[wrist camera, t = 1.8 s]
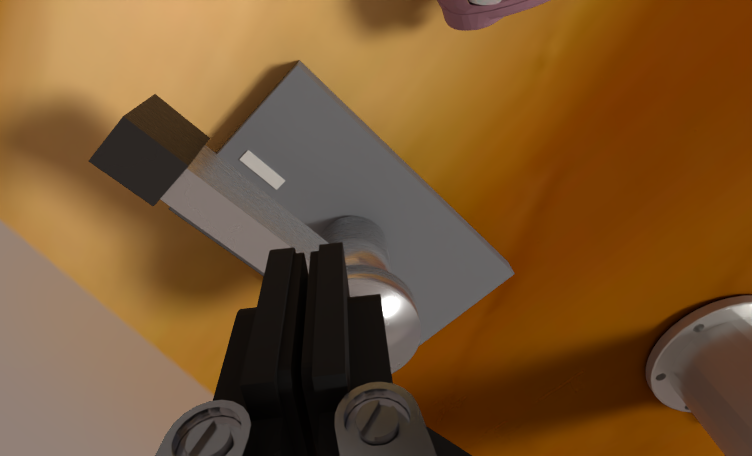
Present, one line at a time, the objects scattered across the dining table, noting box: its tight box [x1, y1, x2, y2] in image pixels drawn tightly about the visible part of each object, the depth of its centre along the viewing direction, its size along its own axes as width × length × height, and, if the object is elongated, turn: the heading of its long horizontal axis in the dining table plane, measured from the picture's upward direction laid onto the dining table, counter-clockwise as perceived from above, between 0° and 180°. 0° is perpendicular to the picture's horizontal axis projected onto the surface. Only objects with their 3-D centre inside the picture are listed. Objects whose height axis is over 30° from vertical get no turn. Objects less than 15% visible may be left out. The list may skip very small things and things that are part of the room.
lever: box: [89, 94, 421, 374], centre depth 25 cm, size 17×6×9 cm, turn 44°
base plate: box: [169, 60, 514, 346], centre depth 32 cm, size 20×12×2 cm, turn 44°
